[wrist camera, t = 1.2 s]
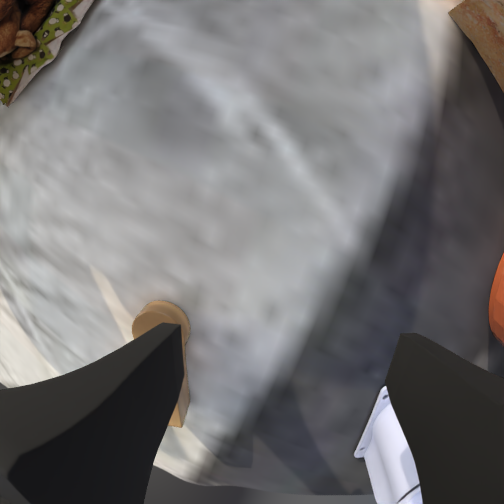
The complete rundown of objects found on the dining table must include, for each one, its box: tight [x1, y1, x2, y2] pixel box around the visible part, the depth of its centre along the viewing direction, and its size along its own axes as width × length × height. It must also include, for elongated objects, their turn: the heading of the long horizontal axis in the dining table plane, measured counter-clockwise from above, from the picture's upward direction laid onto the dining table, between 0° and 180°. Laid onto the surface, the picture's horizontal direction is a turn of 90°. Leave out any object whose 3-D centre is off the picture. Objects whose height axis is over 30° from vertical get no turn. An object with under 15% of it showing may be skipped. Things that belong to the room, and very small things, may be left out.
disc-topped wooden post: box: [132, 301, 190, 428], centre depth 18 cm, size 9×4×3 cm, turn 178°
